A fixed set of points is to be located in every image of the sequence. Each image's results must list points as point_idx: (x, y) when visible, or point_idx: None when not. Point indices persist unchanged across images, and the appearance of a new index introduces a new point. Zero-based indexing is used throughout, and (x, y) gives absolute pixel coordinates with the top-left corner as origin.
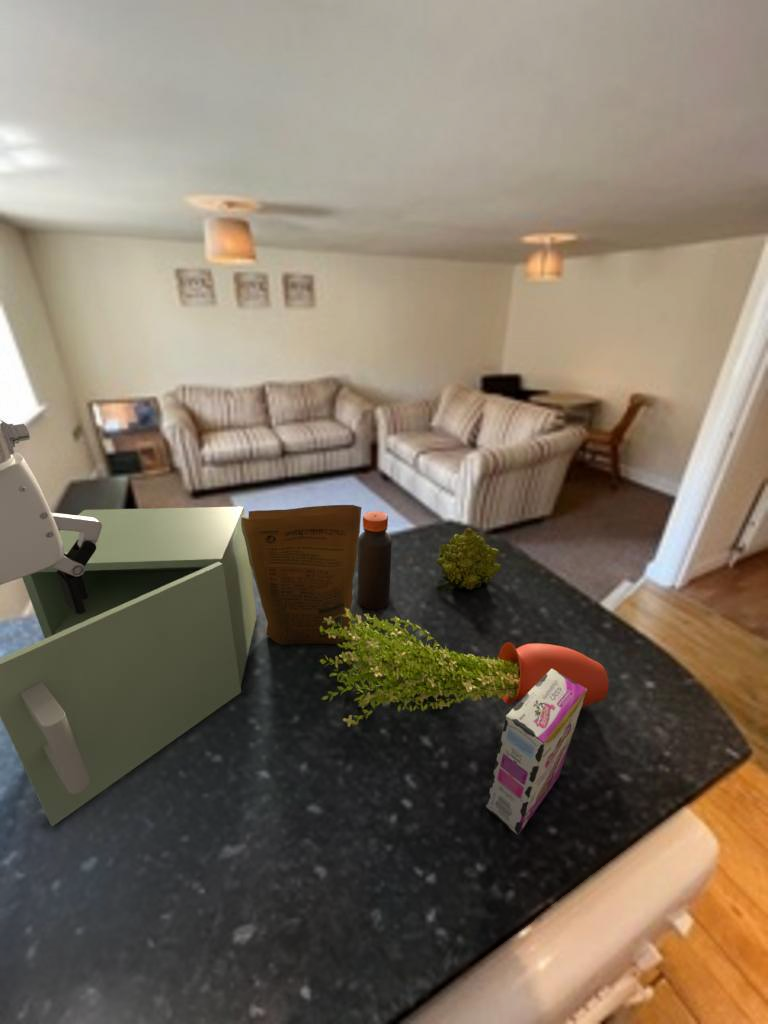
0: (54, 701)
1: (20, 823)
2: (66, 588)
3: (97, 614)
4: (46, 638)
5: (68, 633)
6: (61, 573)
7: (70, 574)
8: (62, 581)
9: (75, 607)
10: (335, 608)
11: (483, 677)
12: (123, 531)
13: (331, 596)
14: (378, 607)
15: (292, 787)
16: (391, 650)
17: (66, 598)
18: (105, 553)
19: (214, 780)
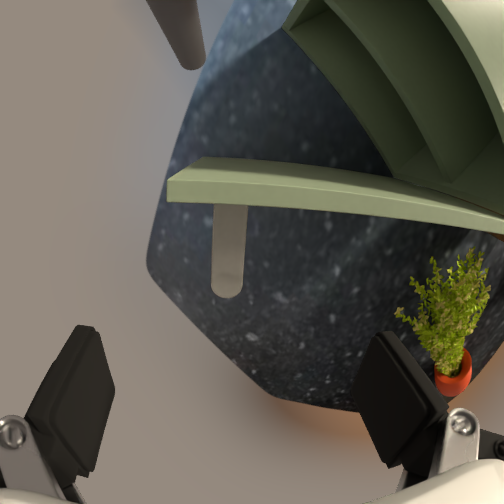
0: (242, 255)
1: (186, 136)
2: (383, 428)
3: (375, 10)
4: (299, 188)
5: (333, 210)
6: (417, 432)
7: (402, 473)
8: (397, 426)
9: (357, 406)
10: (492, 234)
11: (446, 362)
12: (502, 4)
13: (502, 236)
14: None
15: (338, 296)
16: (456, 331)
17: (376, 369)
18: (476, 21)
19: (312, 242)
